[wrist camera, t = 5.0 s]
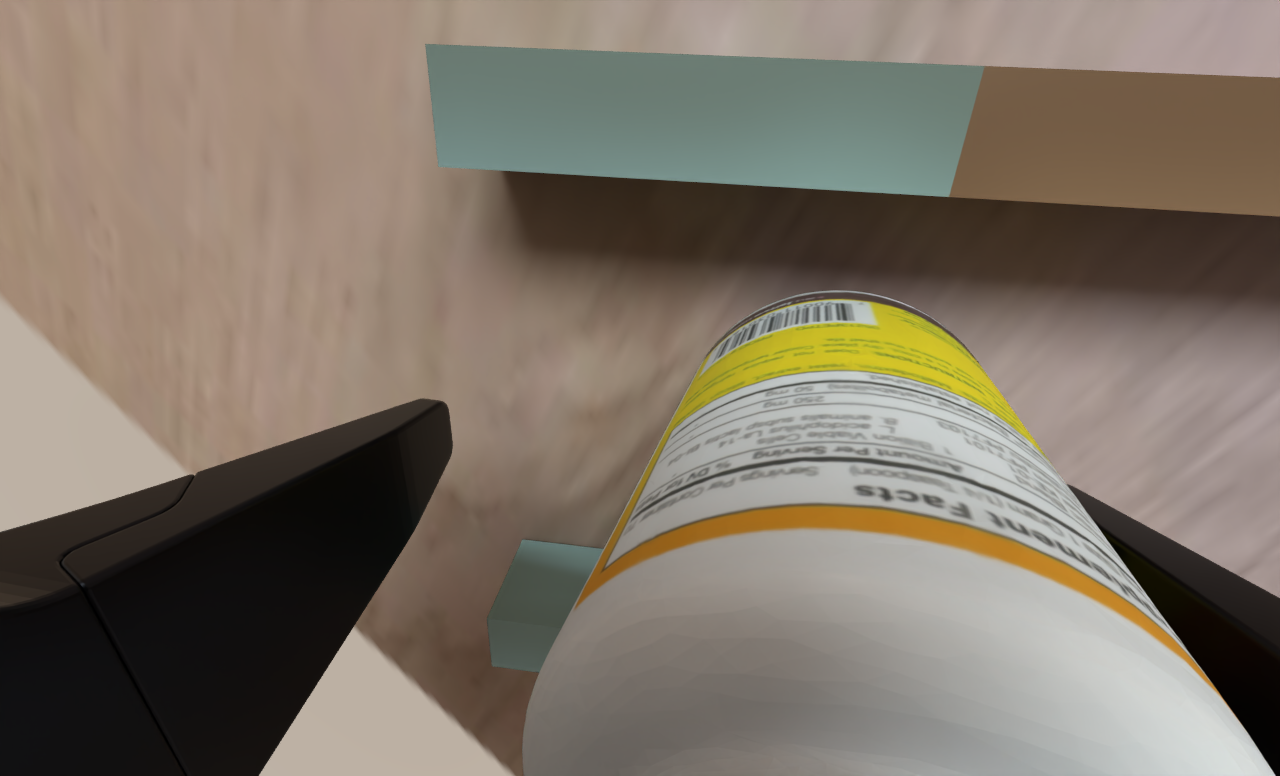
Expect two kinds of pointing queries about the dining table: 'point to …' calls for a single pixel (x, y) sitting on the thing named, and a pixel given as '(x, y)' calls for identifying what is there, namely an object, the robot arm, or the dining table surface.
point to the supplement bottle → (864, 585)
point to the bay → (839, 163)
